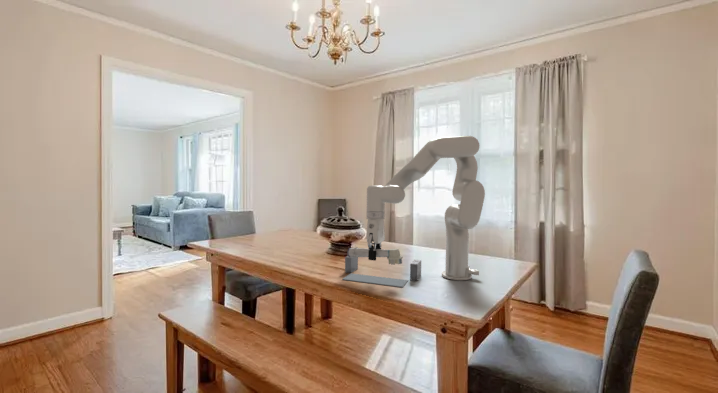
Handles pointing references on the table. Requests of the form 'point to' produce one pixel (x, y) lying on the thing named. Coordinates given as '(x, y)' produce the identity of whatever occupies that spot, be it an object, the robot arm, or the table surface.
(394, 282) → the rubber mat
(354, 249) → the mallet
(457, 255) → the robot arm
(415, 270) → the steel holder
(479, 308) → the table surface
